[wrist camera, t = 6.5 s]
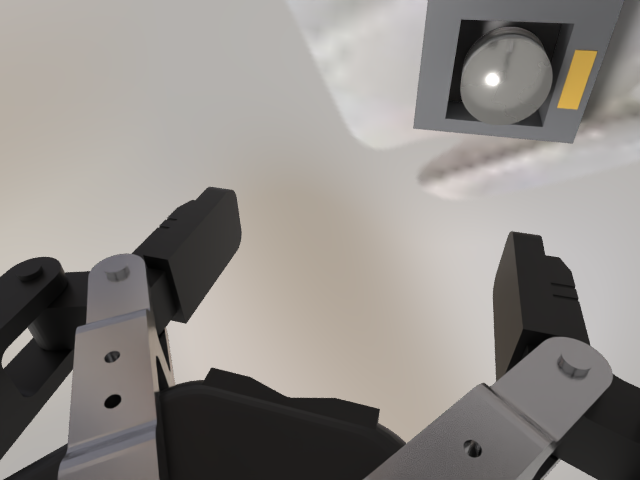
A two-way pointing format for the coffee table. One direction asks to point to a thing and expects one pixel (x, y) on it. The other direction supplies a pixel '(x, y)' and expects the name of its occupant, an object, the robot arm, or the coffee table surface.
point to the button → (505, 76)
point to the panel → (567, 64)
